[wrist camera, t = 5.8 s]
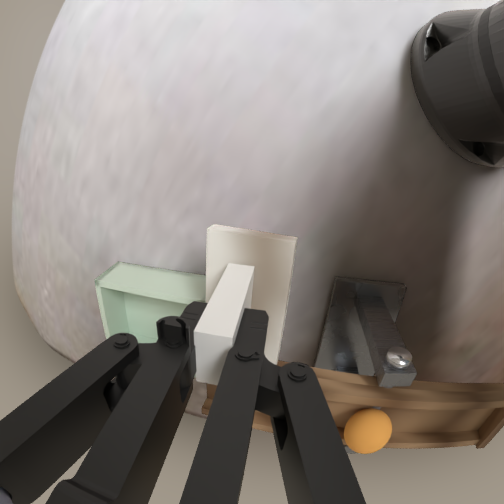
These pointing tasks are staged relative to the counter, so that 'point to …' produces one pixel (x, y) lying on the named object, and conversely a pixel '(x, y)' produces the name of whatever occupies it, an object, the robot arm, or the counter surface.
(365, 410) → the ball
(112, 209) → the counter surface
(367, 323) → the stand
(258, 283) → the lever
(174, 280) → the mint green open box
